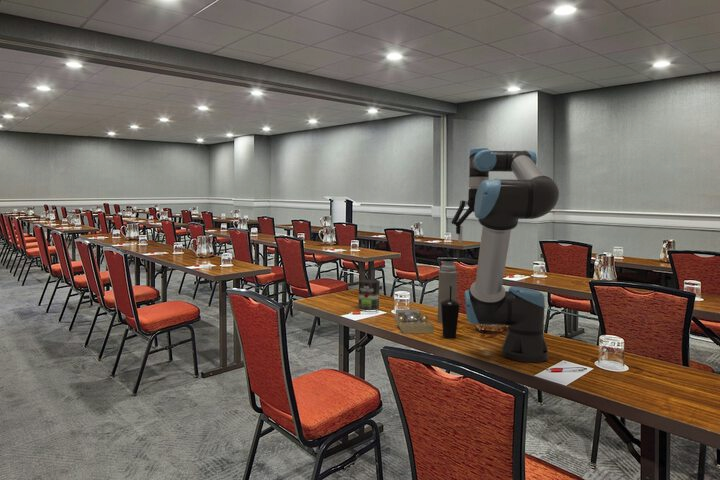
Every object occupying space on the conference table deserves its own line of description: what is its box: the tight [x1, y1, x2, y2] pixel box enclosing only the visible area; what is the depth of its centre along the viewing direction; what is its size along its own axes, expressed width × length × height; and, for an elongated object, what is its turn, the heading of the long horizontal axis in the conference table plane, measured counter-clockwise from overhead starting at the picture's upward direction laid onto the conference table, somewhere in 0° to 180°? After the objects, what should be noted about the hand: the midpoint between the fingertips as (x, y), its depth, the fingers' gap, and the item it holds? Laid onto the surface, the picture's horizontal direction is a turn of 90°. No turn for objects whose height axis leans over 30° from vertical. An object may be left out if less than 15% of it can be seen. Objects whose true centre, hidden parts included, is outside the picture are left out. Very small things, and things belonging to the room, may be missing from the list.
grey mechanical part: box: [395, 308, 422, 323], centre depth 213 cm, size 12×10×5 cm
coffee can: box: [357, 278, 381, 310], centre depth 239 cm, size 10×10×14 cm
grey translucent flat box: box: [396, 315, 435, 335], centre depth 203 cm, size 13×12×4 cm
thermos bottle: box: [437, 257, 458, 324], centre depth 216 cm, size 8×8×28 cm
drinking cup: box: [440, 286, 461, 340], centre depth 191 cm, size 8×8×20 cm
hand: (476, 242), depth 194 cm, fingers open, 13 cm apart
